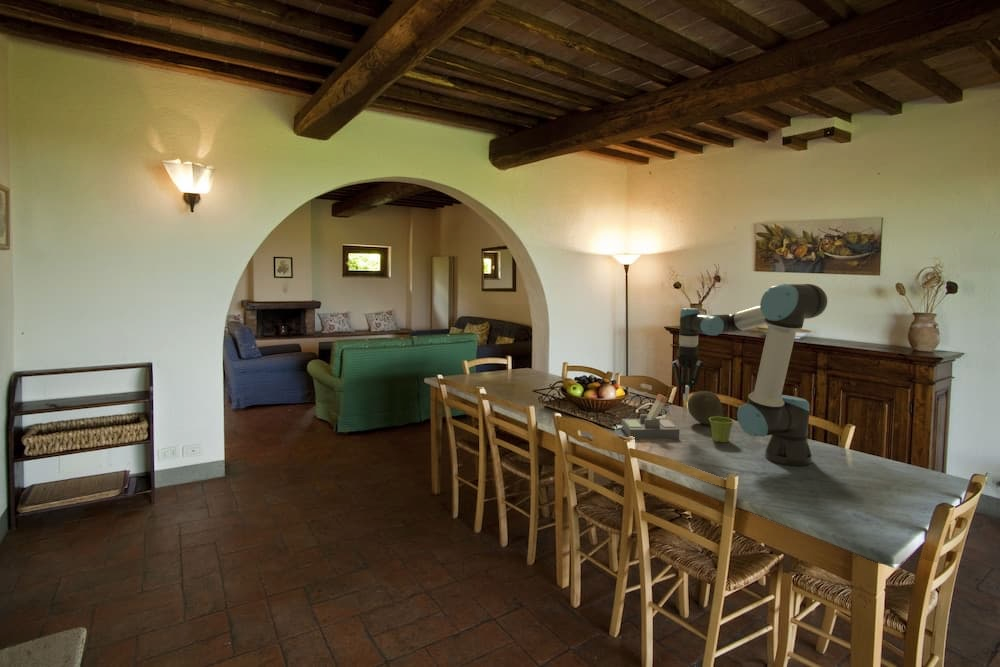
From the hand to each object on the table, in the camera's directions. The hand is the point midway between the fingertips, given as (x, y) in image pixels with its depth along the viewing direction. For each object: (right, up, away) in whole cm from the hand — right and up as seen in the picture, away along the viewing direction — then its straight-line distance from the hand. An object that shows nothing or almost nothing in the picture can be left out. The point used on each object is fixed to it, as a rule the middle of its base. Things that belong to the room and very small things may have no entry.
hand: (685, 401), depth 235 cm
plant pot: (+11, -15, -8) cm, 20 cm away
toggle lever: (-15, -9, +1) cm, 18 cm away
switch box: (-15, -14, +1) cm, 20 cm away
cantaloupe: (+13, -12, +14) cm, 23 cm away
